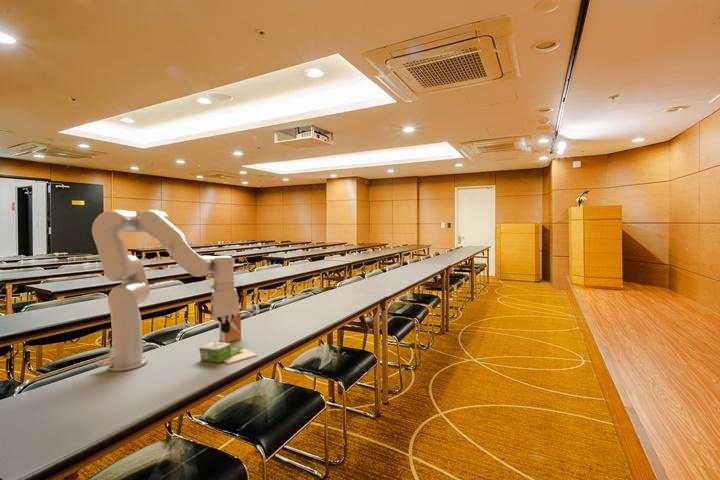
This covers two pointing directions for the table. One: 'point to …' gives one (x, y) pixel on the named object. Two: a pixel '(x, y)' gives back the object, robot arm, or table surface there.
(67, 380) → the table surface
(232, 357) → the mat
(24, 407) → the table surface
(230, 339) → the small box
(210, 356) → the ink box
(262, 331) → the table surface
